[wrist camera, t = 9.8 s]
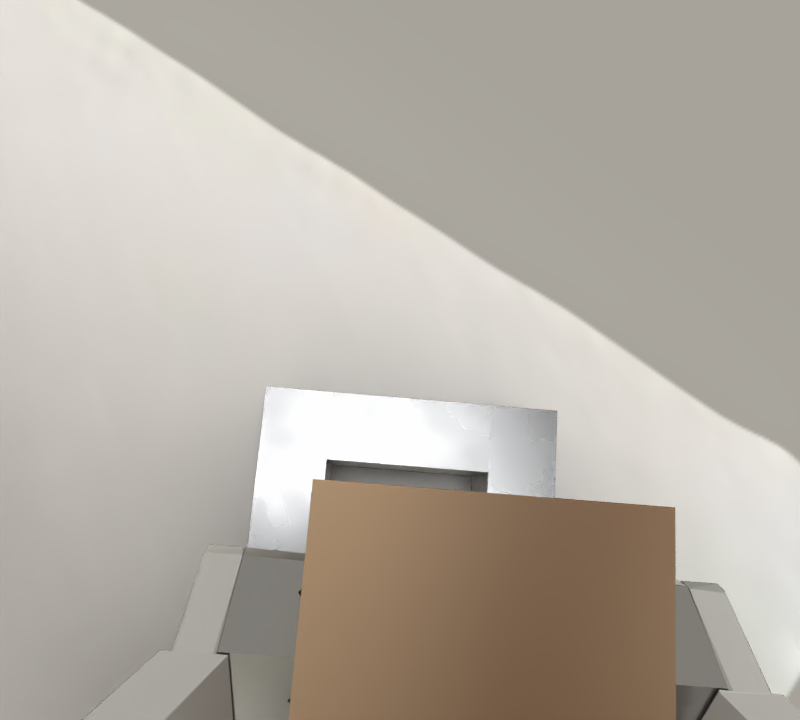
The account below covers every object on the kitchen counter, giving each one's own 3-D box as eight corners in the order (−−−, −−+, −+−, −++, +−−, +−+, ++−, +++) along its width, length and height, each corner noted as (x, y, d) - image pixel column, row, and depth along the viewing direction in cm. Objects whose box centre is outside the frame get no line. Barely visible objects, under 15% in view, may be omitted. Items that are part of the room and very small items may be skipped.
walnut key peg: (325, 672, 16) (269, 897, 7) (341, 491, 16) (312, 478, 8) (502, 684, 16) (677, 922, 7) (510, 504, 16) (675, 506, 8)
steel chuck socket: (248, 674, 28) (229, 703, 24) (279, 401, 30) (266, 386, 26) (521, 693, 28) (547, 725, 24) (532, 422, 30) (557, 410, 26)
